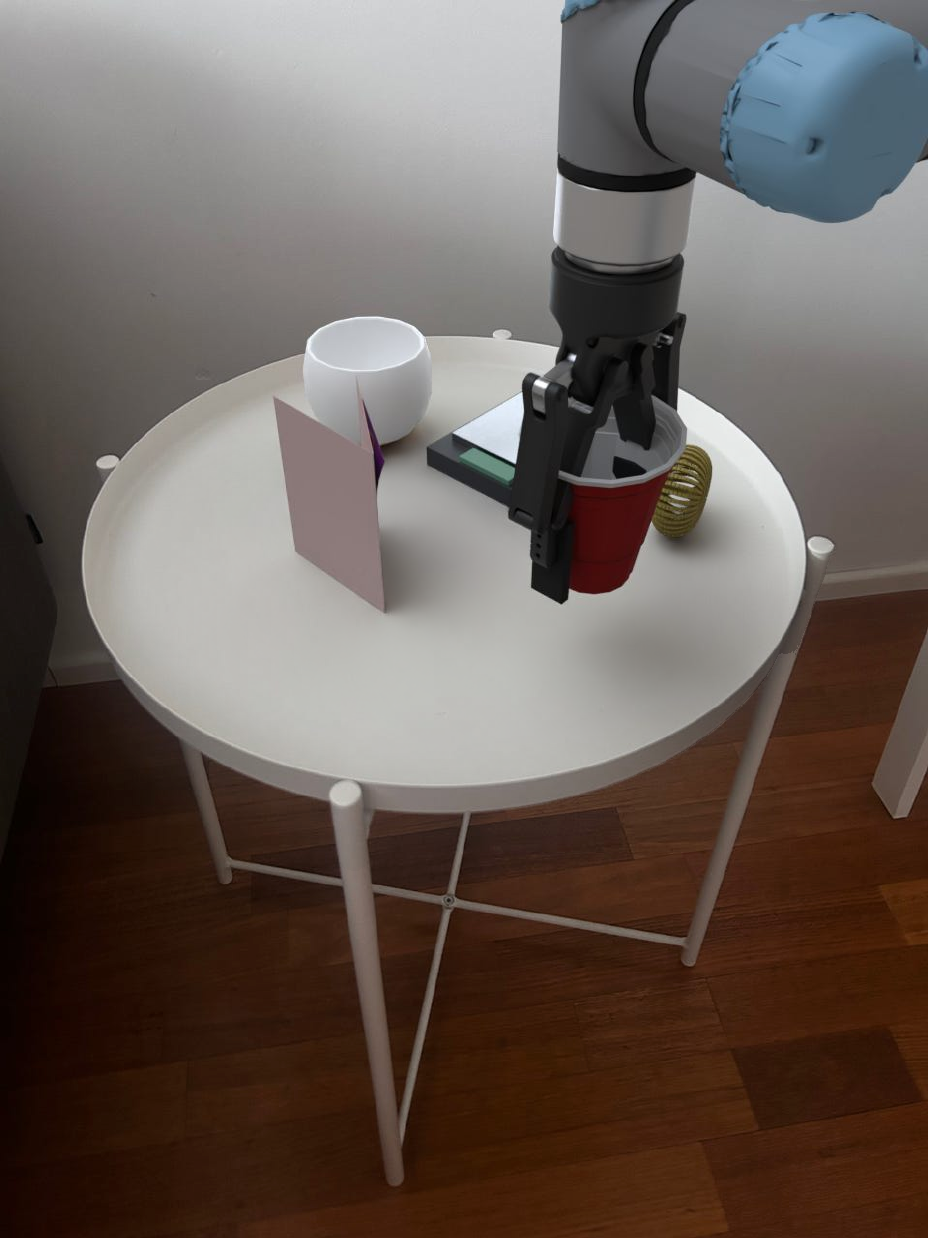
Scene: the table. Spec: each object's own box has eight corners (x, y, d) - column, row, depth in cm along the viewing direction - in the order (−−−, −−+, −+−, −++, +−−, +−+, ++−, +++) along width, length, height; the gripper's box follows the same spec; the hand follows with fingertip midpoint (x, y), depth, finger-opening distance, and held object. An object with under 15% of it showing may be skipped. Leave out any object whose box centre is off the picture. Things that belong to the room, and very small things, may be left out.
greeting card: (395, 612, 81) (385, 452, 71) (302, 623, 80) (279, 463, 70) (378, 527, 89) (367, 373, 79) (293, 536, 88) (271, 382, 78)
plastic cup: (492, 598, 70) (493, 451, 63) (542, 514, 78) (549, 373, 70) (643, 637, 67) (666, 487, 59) (681, 546, 75) (705, 401, 67)
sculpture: (665, 498, 92) (677, 422, 87) (708, 509, 91) (724, 433, 86) (638, 547, 87) (650, 470, 82) (684, 560, 86) (699, 481, 80)
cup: (287, 425, 102) (275, 336, 95) (389, 388, 107) (385, 302, 101) (352, 481, 94) (344, 389, 88) (458, 439, 100) (458, 349, 93)
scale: (637, 454, 98) (641, 429, 96) (540, 523, 90) (542, 497, 88) (526, 404, 105) (527, 380, 103) (426, 464, 97) (425, 439, 95)
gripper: (665, 185, 65) (629, 482, 80) (443, 287, 53) (449, 612, 68) (770, 213, 61) (711, 520, 76) (555, 330, 49) (536, 664, 64)
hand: (587, 563), depth 72 cm, fingers closed on plastic cup, 8 cm apart
